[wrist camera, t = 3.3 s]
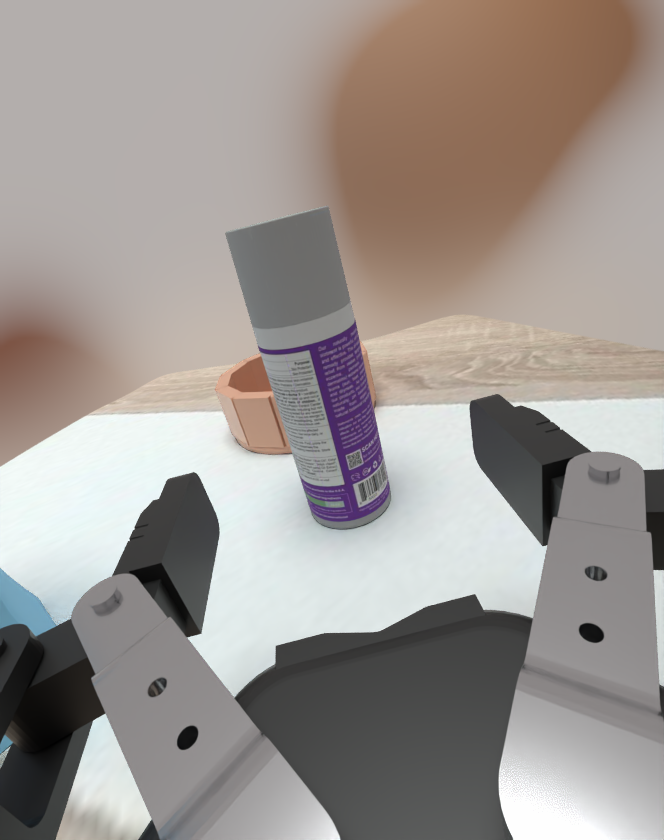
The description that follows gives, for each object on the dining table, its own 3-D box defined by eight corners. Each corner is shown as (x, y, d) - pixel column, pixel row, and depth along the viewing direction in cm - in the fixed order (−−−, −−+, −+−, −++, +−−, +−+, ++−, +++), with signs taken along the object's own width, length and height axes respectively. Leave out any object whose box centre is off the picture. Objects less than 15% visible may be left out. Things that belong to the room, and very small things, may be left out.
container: (376, 467, 27) (320, 207, 20) (403, 512, 23) (342, 202, 16) (305, 490, 26) (223, 232, 20) (318, 540, 22) (220, 233, 16)
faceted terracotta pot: (361, 372, 42) (351, 327, 39) (390, 428, 31) (378, 369, 29) (241, 403, 42) (226, 359, 40) (228, 470, 31) (205, 414, 29)
